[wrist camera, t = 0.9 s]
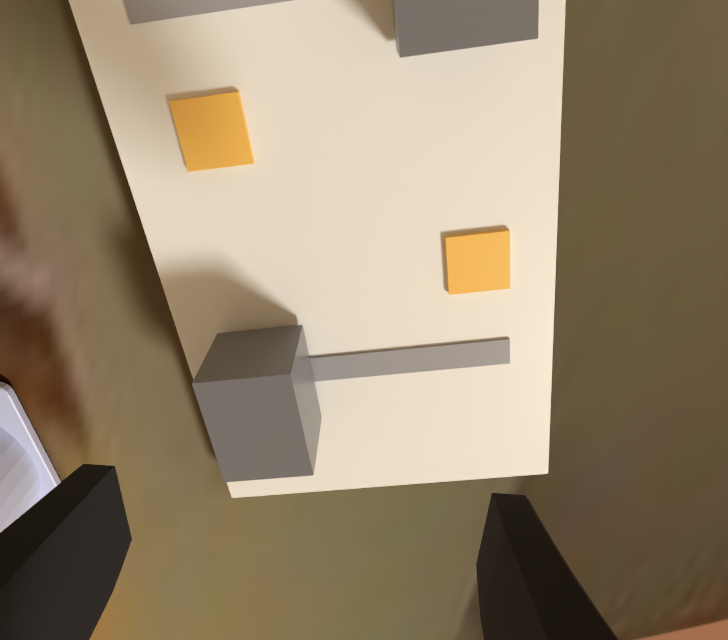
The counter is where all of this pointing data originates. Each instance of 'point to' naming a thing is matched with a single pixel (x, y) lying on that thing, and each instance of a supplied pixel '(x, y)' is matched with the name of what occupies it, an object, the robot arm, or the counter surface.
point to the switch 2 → (461, 24)
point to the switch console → (352, 217)
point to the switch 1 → (260, 403)
